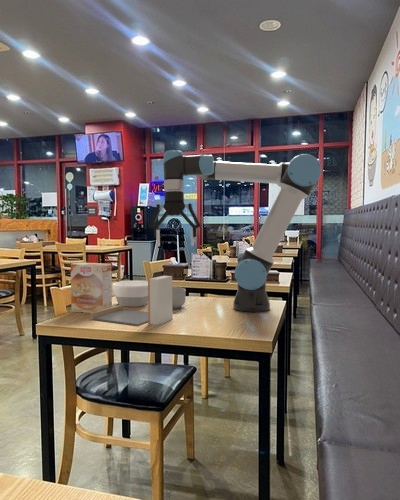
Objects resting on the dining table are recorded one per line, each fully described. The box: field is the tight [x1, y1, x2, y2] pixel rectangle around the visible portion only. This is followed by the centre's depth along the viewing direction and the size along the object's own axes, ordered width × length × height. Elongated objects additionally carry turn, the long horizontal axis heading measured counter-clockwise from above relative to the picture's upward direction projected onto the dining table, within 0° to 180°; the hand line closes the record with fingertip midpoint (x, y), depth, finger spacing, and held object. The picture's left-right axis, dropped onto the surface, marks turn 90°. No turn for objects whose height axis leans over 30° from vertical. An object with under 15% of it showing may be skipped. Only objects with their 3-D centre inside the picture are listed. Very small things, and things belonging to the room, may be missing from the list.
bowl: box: [112, 280, 148, 308], centre depth 176 cm, size 18×18×9 cm
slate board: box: [90, 304, 148, 327], centre depth 151 cm, size 21×18×2 cm
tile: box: [147, 275, 173, 326], centre depth 144 cm, size 4×10×16 cm, turn 154°
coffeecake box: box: [70, 262, 113, 314], centre depth 161 cm, size 15×7×20 cm, turn 70°
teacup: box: [172, 286, 187, 310], centre depth 169 cm, size 14×11×8 cm
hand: (175, 246), depth 157 cm, fingers open, 13 cm apart
